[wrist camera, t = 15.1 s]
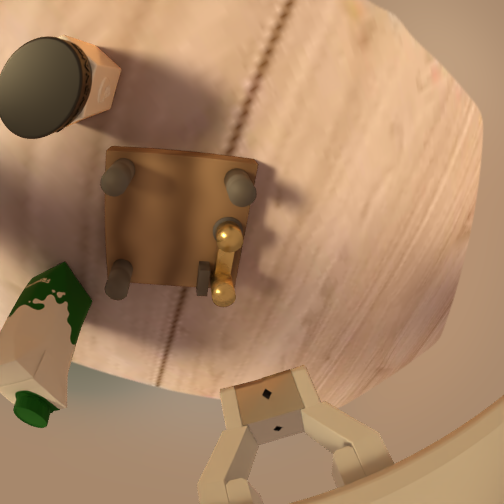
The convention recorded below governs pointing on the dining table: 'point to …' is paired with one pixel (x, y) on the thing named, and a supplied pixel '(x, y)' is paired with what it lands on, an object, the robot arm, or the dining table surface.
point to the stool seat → (170, 215)
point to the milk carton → (42, 344)
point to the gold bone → (225, 263)
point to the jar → (55, 85)
